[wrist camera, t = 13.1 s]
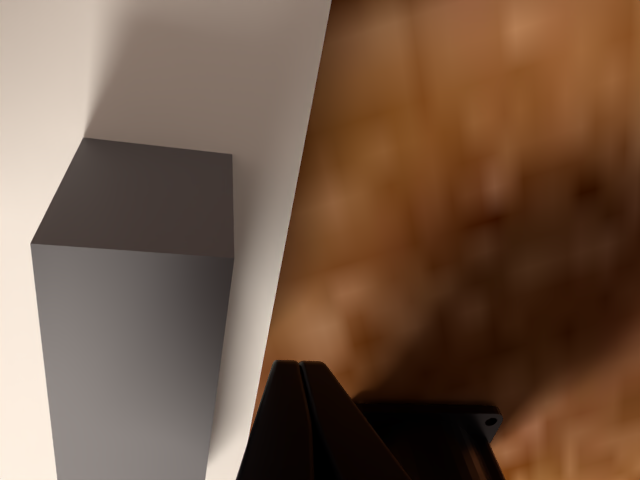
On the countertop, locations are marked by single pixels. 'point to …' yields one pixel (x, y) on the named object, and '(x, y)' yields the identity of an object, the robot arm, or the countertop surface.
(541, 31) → the countertop surface
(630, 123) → the countertop surface
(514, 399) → the countertop surface
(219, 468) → the toolbox lid
